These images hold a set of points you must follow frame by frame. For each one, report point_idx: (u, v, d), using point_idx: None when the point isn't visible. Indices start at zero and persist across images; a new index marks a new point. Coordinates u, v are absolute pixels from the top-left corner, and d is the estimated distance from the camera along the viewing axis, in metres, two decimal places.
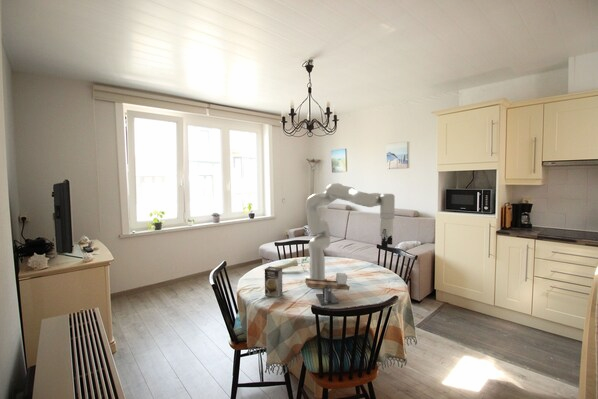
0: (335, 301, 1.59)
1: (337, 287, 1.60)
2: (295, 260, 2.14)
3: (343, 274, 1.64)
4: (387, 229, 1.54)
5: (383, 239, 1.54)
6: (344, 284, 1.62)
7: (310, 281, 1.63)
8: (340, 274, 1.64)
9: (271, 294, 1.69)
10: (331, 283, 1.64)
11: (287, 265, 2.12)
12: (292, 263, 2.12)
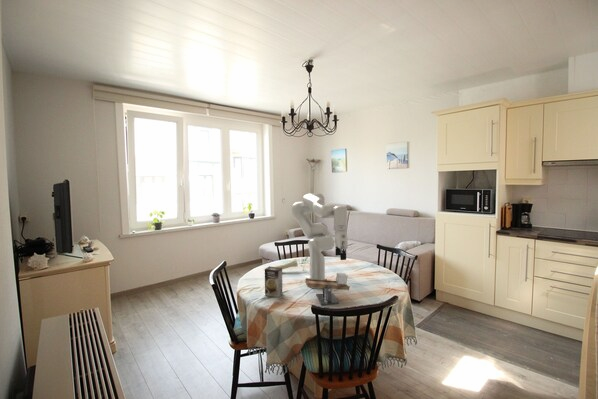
0: (335, 301, 1.59)
1: (337, 287, 1.60)
2: (295, 260, 2.13)
3: (343, 274, 1.64)
4: None
5: None
6: (344, 284, 1.62)
7: (310, 281, 1.63)
8: (340, 274, 1.64)
9: (271, 294, 1.69)
10: (331, 283, 1.64)
11: (286, 265, 2.11)
12: (292, 263, 2.12)
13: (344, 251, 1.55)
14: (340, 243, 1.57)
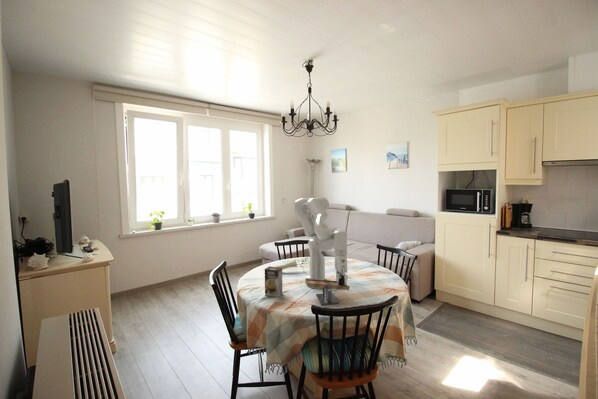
0: (335, 301, 1.59)
1: (337, 287, 1.60)
2: (294, 261, 2.12)
3: None
4: None
5: None
6: (345, 284, 1.62)
7: (310, 281, 1.63)
8: (341, 274, 1.64)
9: (271, 294, 1.69)
10: (331, 283, 1.64)
11: (286, 266, 2.10)
12: (291, 264, 2.11)
13: (342, 277, 1.59)
14: (340, 270, 1.58)
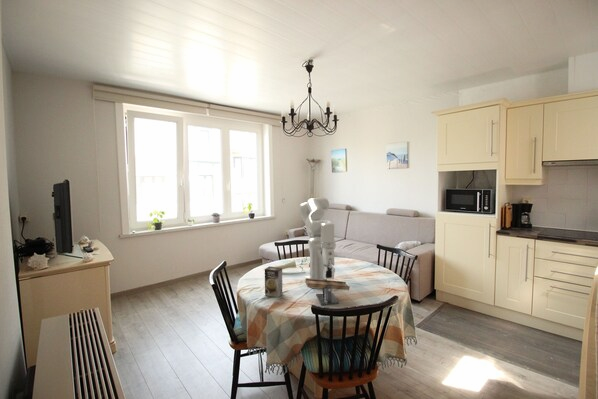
0: (335, 301, 1.59)
1: (337, 287, 1.60)
2: (293, 261, 2.10)
3: None
4: None
5: None
6: (332, 277, 1.61)
7: (310, 281, 1.63)
8: None
9: (271, 294, 1.69)
10: (331, 283, 1.64)
11: (285, 266, 2.10)
12: (290, 264, 2.10)
13: (330, 269, 1.58)
14: (327, 263, 1.57)
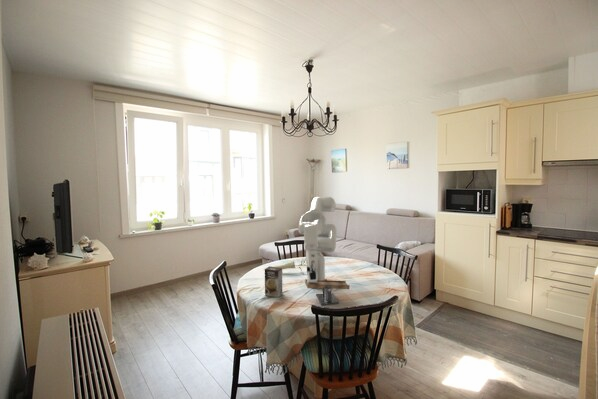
0: (335, 301, 1.59)
1: (337, 287, 1.60)
2: (292, 262, 2.09)
3: None
4: None
5: None
6: (315, 282, 1.60)
7: None
8: None
9: (271, 294, 1.69)
10: (331, 283, 1.64)
11: (283, 266, 2.09)
12: (288, 265, 2.08)
13: (313, 271, 1.54)
14: (310, 263, 1.55)
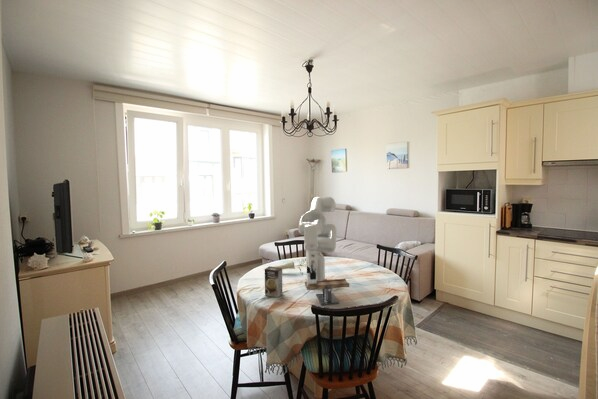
0: (335, 301, 1.59)
1: (337, 286, 1.60)
2: (291, 262, 2.08)
3: None
4: None
5: None
6: (314, 283, 1.60)
7: None
8: (309, 274, 1.61)
9: (271, 294, 1.69)
10: (331, 282, 1.64)
11: (283, 266, 2.08)
12: (288, 265, 2.08)
13: (313, 271, 1.54)
14: (310, 262, 1.55)
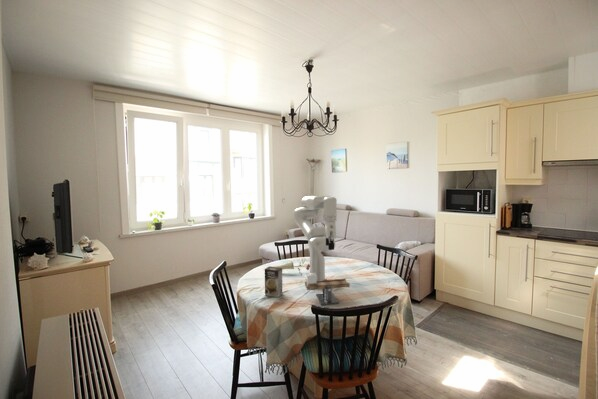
0: (335, 301, 1.59)
1: (337, 286, 1.60)
2: (290, 262, 2.07)
3: (312, 273, 1.61)
4: None
5: None
6: (314, 283, 1.60)
7: None
8: (309, 274, 1.61)
9: (271, 294, 1.69)
10: (331, 282, 1.64)
11: (282, 267, 2.08)
12: (287, 265, 2.07)
13: (332, 241, 1.59)
14: (328, 233, 1.61)
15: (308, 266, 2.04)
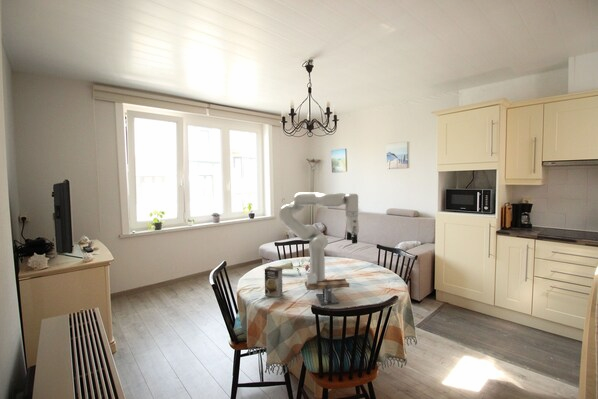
0: (335, 301, 1.59)
1: (337, 286, 1.60)
2: (289, 263, 2.07)
3: (312, 273, 1.61)
4: None
5: None
6: (314, 283, 1.60)
7: None
8: (309, 274, 1.61)
9: (271, 294, 1.69)
10: (331, 282, 1.64)
11: (281, 267, 2.07)
12: (286, 265, 2.07)
13: (355, 235, 1.68)
14: (352, 228, 1.70)
15: None
